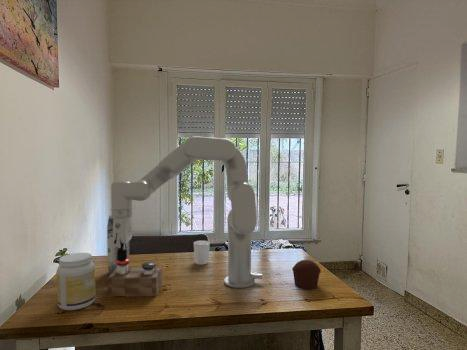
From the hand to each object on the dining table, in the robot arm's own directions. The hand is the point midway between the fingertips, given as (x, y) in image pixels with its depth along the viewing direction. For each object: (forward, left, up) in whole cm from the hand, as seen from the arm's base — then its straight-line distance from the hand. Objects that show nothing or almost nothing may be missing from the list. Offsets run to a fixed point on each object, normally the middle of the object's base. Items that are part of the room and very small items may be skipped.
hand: (122, 259), depth 126 cm
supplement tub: (+13, +11, -12) cm, 21 cm away
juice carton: (+7, -18, -12) cm, 23 cm away
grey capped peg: (-10, 0, -12) cm, 16 cm away
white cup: (-29, -32, -12) cm, 45 cm away
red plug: (0, 0, -10) cm, 10 cm away
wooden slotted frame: (-5, 0, -12) cm, 13 cm away
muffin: (-73, -2, -12) cm, 74 cm away
